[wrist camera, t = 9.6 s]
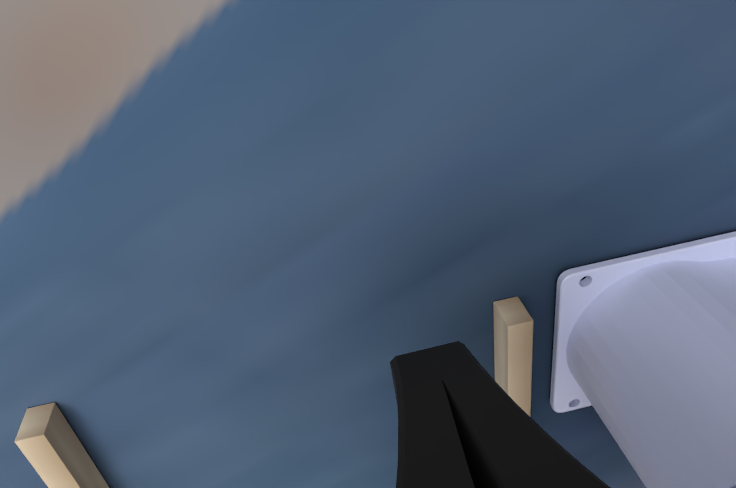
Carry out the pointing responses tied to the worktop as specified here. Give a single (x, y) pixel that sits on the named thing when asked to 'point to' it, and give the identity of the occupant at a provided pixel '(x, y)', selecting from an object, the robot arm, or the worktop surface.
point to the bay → (85, 484)
